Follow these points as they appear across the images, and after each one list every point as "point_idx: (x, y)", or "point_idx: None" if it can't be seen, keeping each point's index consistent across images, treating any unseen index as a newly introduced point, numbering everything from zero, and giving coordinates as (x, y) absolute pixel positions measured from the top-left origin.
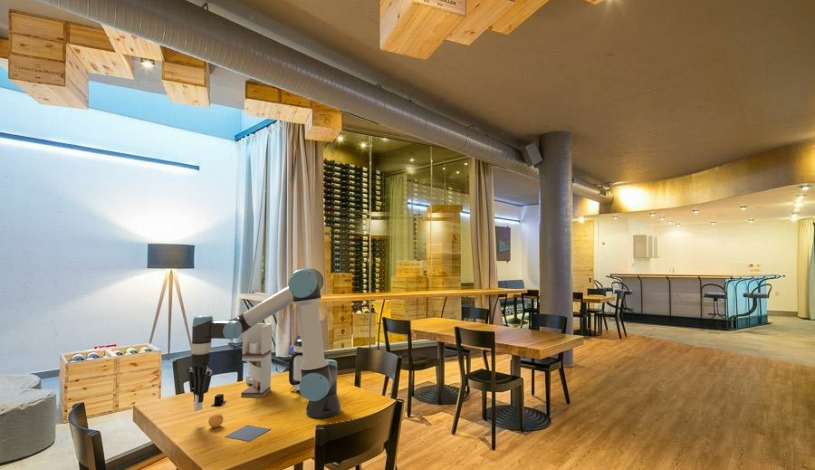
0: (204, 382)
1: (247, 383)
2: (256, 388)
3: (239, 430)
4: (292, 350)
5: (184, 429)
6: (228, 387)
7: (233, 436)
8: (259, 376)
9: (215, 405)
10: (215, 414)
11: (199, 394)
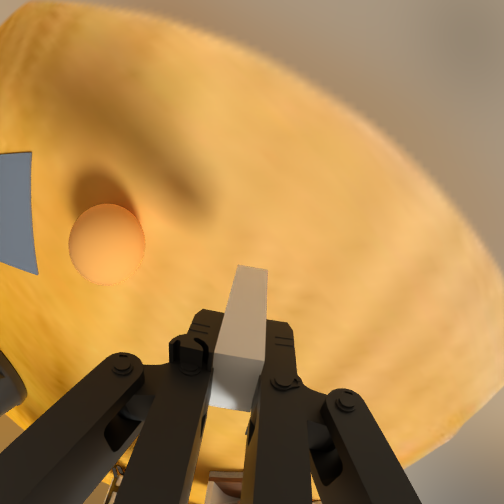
0: (22, 467)
1: (320, 501)
2: None
3: (23, 219)
4: None
5: (269, 164)
6: None
7: (10, 164)
8: None
9: None
10: (78, 243)
11: (172, 354)
